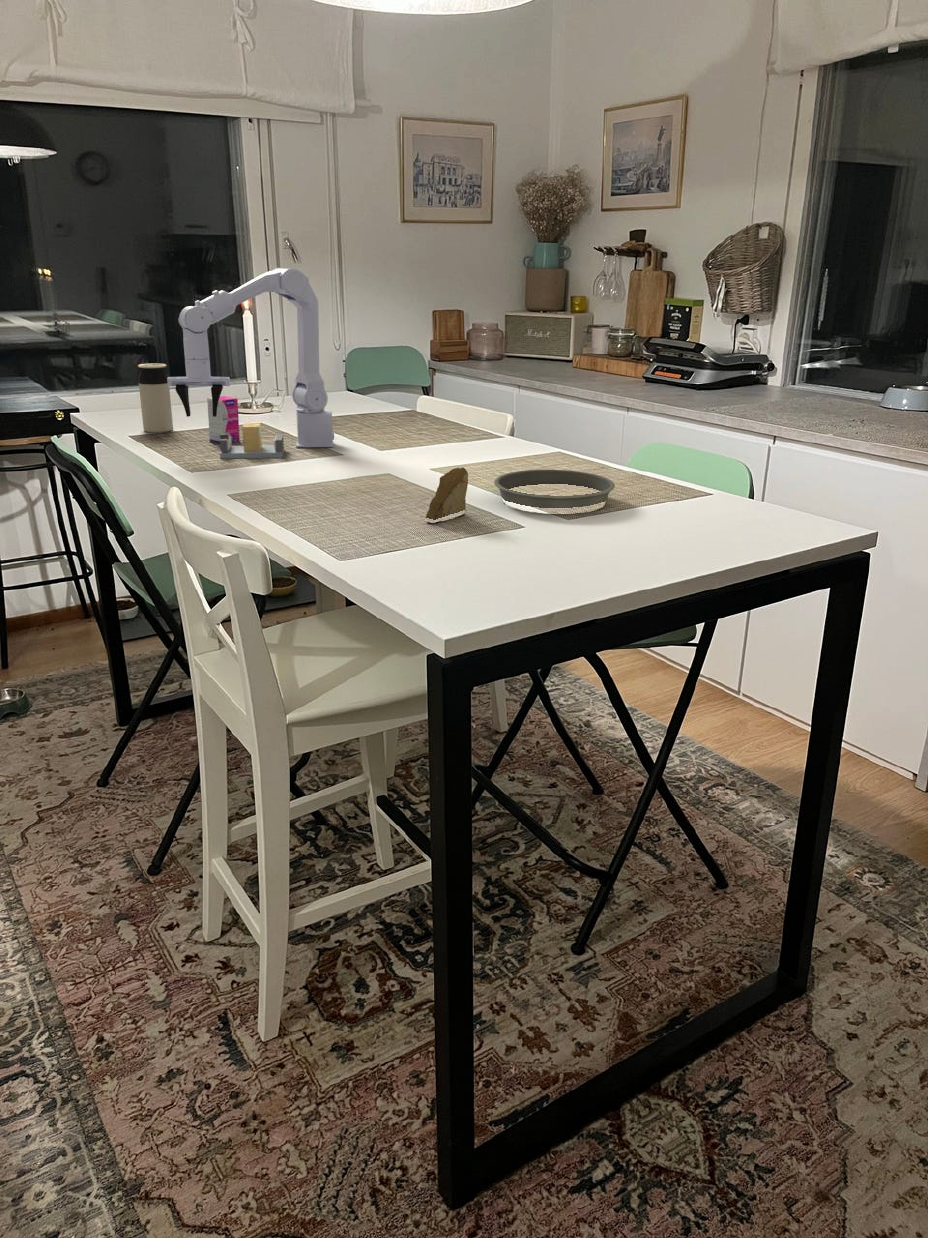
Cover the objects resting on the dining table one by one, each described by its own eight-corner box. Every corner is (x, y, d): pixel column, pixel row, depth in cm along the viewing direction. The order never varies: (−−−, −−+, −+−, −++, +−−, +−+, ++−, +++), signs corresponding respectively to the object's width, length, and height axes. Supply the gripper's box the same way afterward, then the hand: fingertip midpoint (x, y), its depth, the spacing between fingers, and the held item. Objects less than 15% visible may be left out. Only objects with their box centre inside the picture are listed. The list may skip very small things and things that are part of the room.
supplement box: (223, 444, 251) (220, 399, 247) (209, 441, 254) (205, 397, 250) (240, 441, 255) (237, 397, 251) (226, 438, 259) (223, 395, 255)
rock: (434, 517, 175) (482, 504, 179) (417, 475, 177) (465, 464, 180) (419, 539, 185) (464, 526, 189) (403, 499, 186) (449, 487, 190)
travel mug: (179, 430, 270) (173, 364, 264) (157, 433, 264) (150, 366, 257) (160, 427, 274) (153, 362, 268) (137, 430, 268) (130, 364, 261)
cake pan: (474, 494, 203) (475, 473, 201) (575, 485, 212) (577, 465, 211) (526, 523, 182) (527, 499, 180) (636, 511, 191) (638, 489, 190)
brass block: (261, 446, 242) (260, 422, 240) (260, 451, 237) (258, 426, 234) (245, 446, 242) (244, 422, 239) (243, 451, 236) (242, 426, 234)
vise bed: (284, 449, 245) (283, 433, 244) (282, 457, 236) (281, 440, 234) (224, 450, 243) (222, 433, 242) (220, 458, 234) (218, 441, 232)
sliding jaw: (231, 444, 242) (230, 430, 241) (228, 451, 234) (227, 436, 233) (223, 444, 242) (222, 430, 241) (219, 451, 234) (218, 437, 232)
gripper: (163, 360, 225) (168, 418, 230) (226, 360, 227) (230, 418, 232) (168, 357, 231) (173, 414, 236) (229, 357, 233) (233, 413, 238)
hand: (201, 415), depth 234 cm, fingers open, 6 cm apart
